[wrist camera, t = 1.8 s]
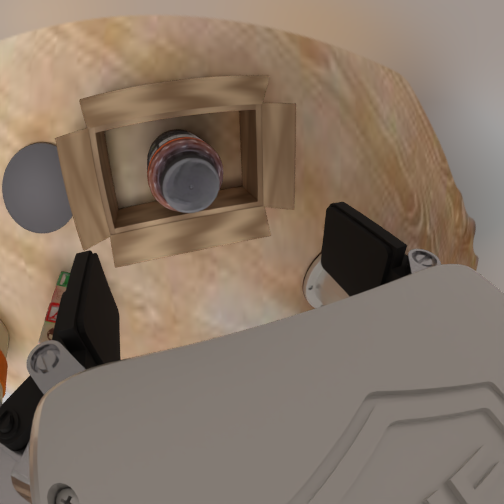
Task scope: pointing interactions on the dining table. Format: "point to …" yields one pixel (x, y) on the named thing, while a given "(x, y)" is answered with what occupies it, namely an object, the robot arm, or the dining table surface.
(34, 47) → the dining table surface
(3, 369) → the reusable coffee cup
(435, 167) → the dining table surface
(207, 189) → the supplement bottle
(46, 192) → the coaster
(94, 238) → the carton
